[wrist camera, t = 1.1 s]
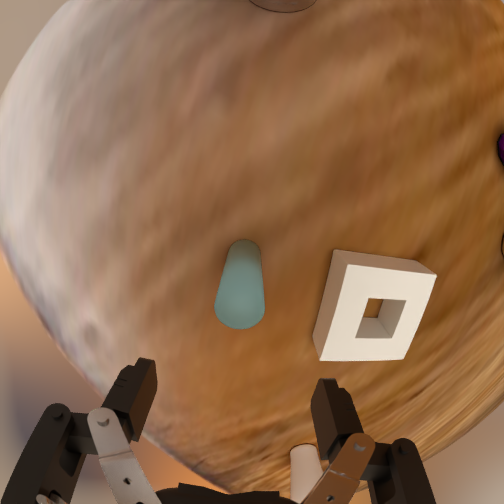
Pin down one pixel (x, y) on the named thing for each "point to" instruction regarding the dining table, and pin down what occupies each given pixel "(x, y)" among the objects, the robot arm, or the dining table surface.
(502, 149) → the potion bottle
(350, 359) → the socket block
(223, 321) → the peg
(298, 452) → the drinking glass
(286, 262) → the dining table surface
